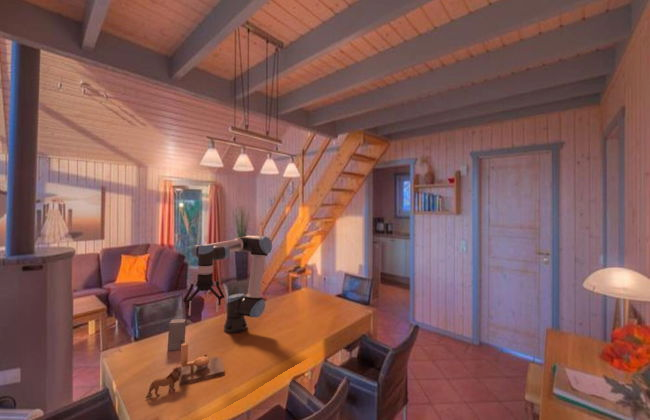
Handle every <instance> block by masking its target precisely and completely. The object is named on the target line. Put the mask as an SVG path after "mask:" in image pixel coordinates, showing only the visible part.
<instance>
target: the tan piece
mask: <svg viewBox="0 0 650 420" xmlns="http://www.w3.org/2000/svg"><path fill="white" fill-rule="evenodd" d="M188 353H189V343H186V342H185V343H184V344H182V345H181V349H180V365H182V367H187V366H191V363H194V365H195V366H203V365H206V364H208V363H209V359H210V357H208V356H207V357H205V356H204V355H203V356H200V357H196V359H194V360H191V361H188V359H189V358H188V357H189V354H188Z"/></svg>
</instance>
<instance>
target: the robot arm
mask: <svg viewBox="0 0 650 420" xmlns="http://www.w3.org/2000/svg"><path fill="white" fill-rule="evenodd" d="M272 243H273V242H272V240H271V239H270V237H268V236H265V235H252V234H250V235H245V236H239V237H235V238H233V239H230V240H225V241H217V242H214V243H203V244H194V246H192V248H191V255H192V257H194V258H196V259H197V279H196V281H197V282H195V283H193V282H190V286H189V288H188V290H187V292H186V294H184V295H185V296H184V297H183V298H182V301H183V302H184V303H186V309H187V310H188V316H191V312H192V311H191V310H192V300H193V299H194V298H195V296H196V295H197V294H199V292H205V291H206V292H208V291H210V292H211V293H212V294H213V295H214V296H215V297H216V301H215V302H216V306H215V311H216V313H219V306H221V302H222V301H221V299H224V298H225V295H224V293H223V292H222V289H221V287H220V284H219V283H220V282H219V280H215V281H213V277H214V276H213V272H214V262H215V261H220V260H225V259H227V258H229V257H230V254H231V252H236V253H237V252H239V253H240V252H247V253H250V254H249V255H250V256H251V265H250V272H249V281H248V289H247V293H246V294H245V293H235V294H231V295H229V296H228V297H227V301H226V320H225V323H224V326H223V330H224V332H225V333H230V334H237V333H240V332H244V331H245V330H247V328H248V323H247V321H246V317H250V318H259V317H261V315H262V314H263V312H264V311H265V309H266V301H265V300H264V299H263V298H264V297H263V295H262V286H263V279H264V277H263V276H264V269H265V267H264V266H265V260H266V258H267V257H268V254H270V253H271V251H272V250H273V244H272ZM213 285H214V286H215V287H216V288H217V290H218V293H219V294H218V293H217V291H216V290H214V288H213ZM195 287H197V288H196V289H195V291H194V292H192V291H193V289H194V288H195ZM191 292H192V294H191ZM190 294H191V295H190Z"/></svg>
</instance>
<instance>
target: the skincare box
mask: <svg viewBox="0 0 650 420" xmlns="http://www.w3.org/2000/svg"><path fill="white" fill-rule="evenodd" d="M186 326H187V318H177V319H176V318H175V319H171V320H170V321H169V324H168V335H167V337H168V338H167V351H168V352H169V351H176V350H177V351H178V350H181V345H182V344H184V343H186V331H187V330H186V329H187V327H186Z"/></svg>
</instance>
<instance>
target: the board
mask: <svg viewBox="0 0 650 420" xmlns="http://www.w3.org/2000/svg"><path fill="white" fill-rule="evenodd" d="M204 356H205V357H208V354H207V353H204V355H203V357H204ZM221 357H222V356H217V357H211V358H209V363H208V364H206V365H203V366H195V365H194V363H191V366H187V367H182V365H181V364H179V365H178V367H181V370H182V373H181V376H180V378H179V380H178V381H179V386H181V385H186V384H190V383H194V382H198V381H202V380H207V379H211V378H215V377H219V376H223V375H225V373H226V372H225V369H224V368H225V367H224V365H223V361H222V358H221Z"/></svg>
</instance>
